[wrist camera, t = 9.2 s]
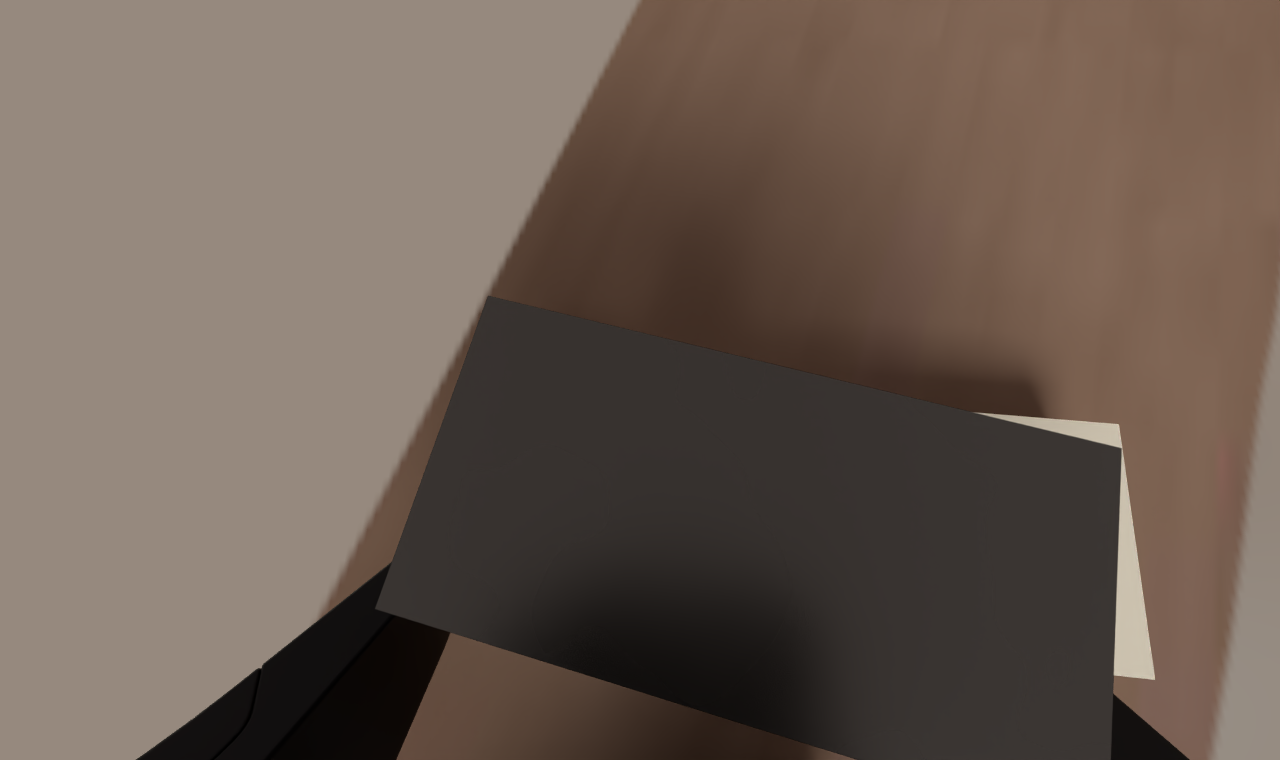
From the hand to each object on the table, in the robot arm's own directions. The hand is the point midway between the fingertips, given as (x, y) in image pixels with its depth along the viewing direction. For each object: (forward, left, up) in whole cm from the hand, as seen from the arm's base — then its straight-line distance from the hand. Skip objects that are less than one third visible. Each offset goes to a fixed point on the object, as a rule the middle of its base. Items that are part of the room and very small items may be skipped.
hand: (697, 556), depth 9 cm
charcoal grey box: (+1, 0, -7) cm, 7 cm away
